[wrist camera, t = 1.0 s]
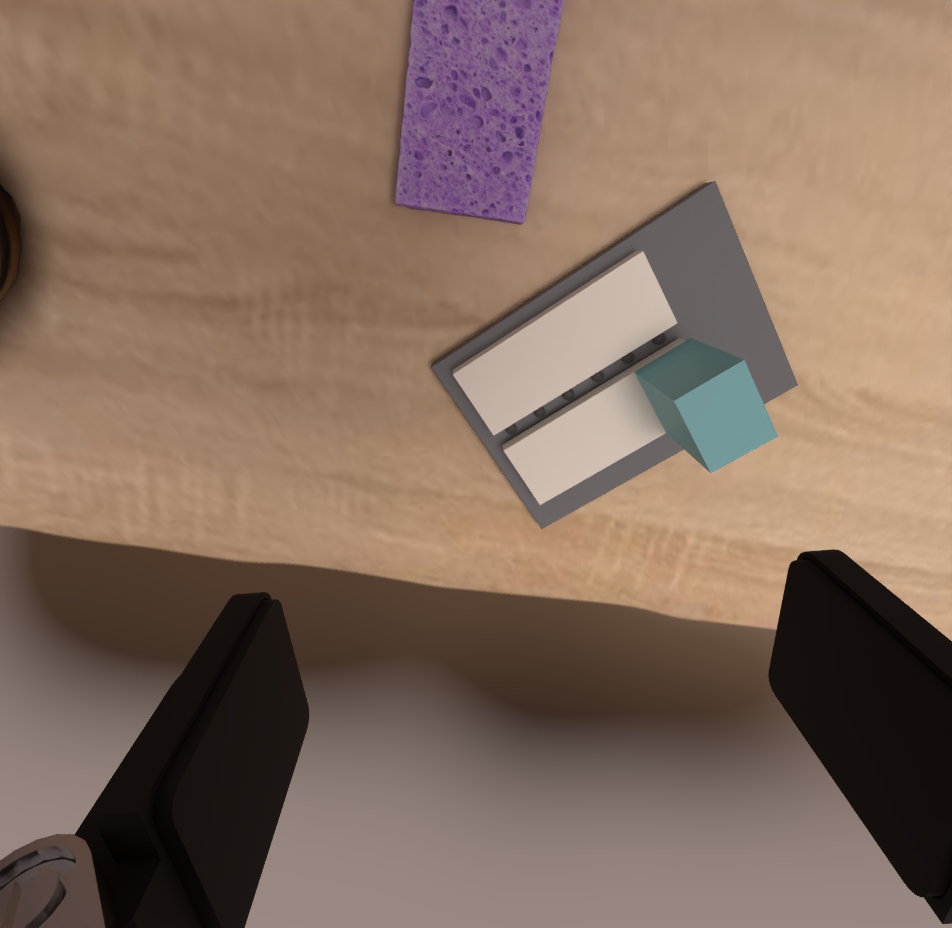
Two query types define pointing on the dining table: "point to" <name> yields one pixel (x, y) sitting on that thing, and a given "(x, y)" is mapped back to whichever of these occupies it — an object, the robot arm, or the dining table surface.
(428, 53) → the sponges
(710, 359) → the stub
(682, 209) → the mat
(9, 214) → the ceramic jug
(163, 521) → the dining table surface
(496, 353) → the ticket
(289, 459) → the dining table surface
